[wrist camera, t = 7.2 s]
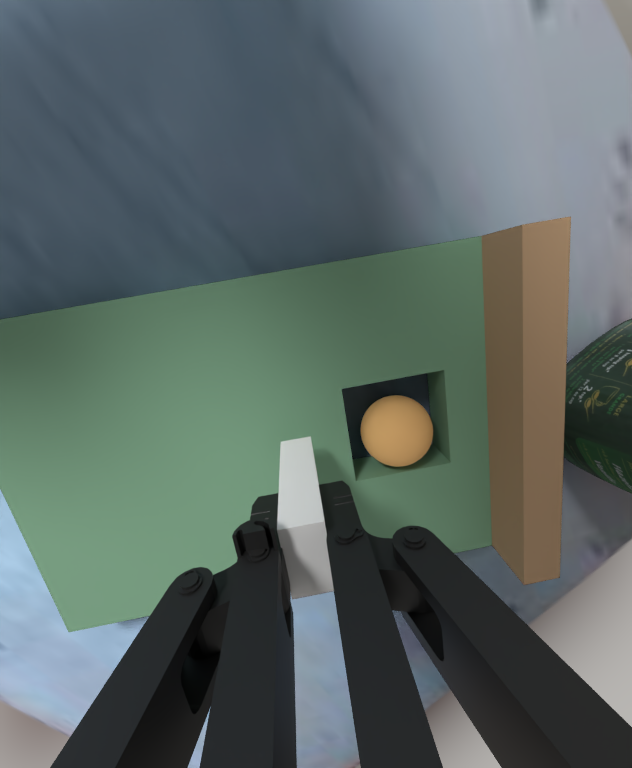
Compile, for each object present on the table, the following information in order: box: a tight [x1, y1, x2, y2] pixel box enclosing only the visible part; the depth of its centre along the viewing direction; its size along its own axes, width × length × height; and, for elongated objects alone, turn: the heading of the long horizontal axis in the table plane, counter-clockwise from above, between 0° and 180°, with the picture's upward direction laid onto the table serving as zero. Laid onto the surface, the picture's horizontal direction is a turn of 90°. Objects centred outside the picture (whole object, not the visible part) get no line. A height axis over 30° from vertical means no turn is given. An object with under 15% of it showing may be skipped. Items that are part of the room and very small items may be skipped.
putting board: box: [0, 217, 571, 632], centre depth 18 cm, size 28×18×6 cm, turn 100°
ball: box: [361, 395, 433, 467], centre depth 20 cm, size 4×4×4 cm
